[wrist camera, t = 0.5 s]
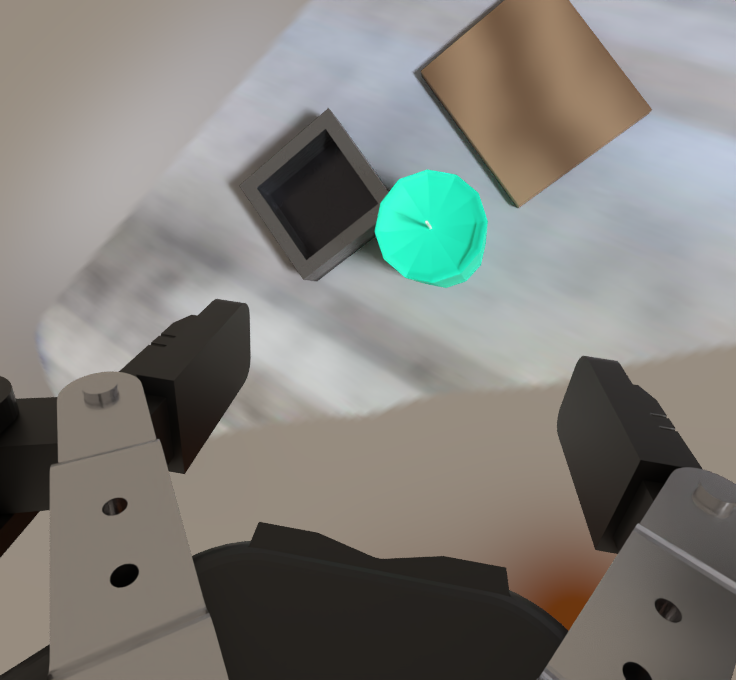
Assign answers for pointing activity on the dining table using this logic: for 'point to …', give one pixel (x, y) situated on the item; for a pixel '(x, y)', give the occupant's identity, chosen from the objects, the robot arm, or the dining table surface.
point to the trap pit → (318, 197)
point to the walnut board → (534, 93)
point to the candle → (432, 228)
